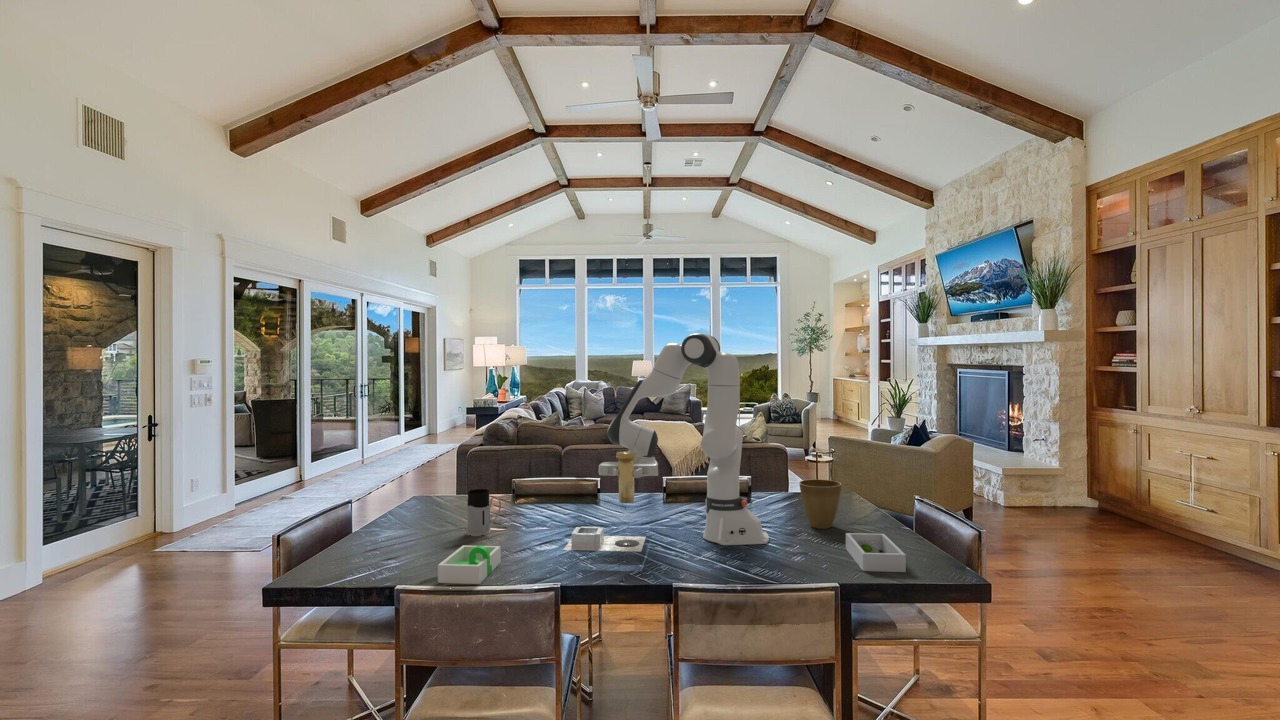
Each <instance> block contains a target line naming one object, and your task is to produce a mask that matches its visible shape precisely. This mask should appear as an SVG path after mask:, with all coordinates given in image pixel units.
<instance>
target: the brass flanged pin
mask: <svg viewBox="0 0 1280 720" xmlns="http://www.w3.org/2000/svg"><path fill="white" fill-rule="evenodd" d="M615 456H616V459H618V462H619V476H618V502H619V503H620V504H632V503H635V479H634V473H633V471H634V458H636V452H629V451H628V450H626V451H617V452H616V455H615Z"/></svg>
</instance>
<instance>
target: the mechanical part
mask: <svg viewBox="0 0 1280 720" xmlns="http://www.w3.org/2000/svg"><path fill="white" fill-rule="evenodd" d="M475 546H476V547H475V548H474V549H473V550H472V551H471V552H470V554H469V562H457V563H456V564H464V565H478V564H479V563H480V562H481V561H480V560H478V559H477V558H476V554H477V553H480V554H482V556H483V559H487V575H488V576H489V575H490V574H491V573H492V572H493V571H492V564H491V565H490V553H489V550H488V549H487V548H486V547H484V546H485V545H475ZM491 571H492V572H491Z"/></svg>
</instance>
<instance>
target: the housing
mask: <svg viewBox="0 0 1280 720" xmlns="http://www.w3.org/2000/svg"><path fill="white" fill-rule="evenodd" d="M646 538H647V536H628V535H627V536H626V535H624V536H623V535H622V536H621V535H605V527H601V526H582V525H581V526H575V528H574V529H573V530H572V532H571V537H570V540H569V541H568V542H567V544H566V546H565V547H564V548H563V551H591V552H592V551H593V552H594V551H597V552H639V553H640V552H642V550H643V547H644V544H645V541H646Z"/></svg>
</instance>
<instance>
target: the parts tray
mask: <svg viewBox="0 0 1280 720" xmlns="http://www.w3.org/2000/svg"><path fill="white" fill-rule="evenodd" d="M476 546H477V545H464V544H463V545H461V546H460V547H459V548H458V549H456V550H455V551H454V552H452V553H451V554H450V555H448V556H447V557H446V558H445V559H444V560H442V561H441V562H439V564H437V584H462V585H464V584H465V585H473V584H474V585H480V584H481V583H482V582H483V581H484V580H485V579H486V578H487V577H488V576H489V575H487V559H483V556H482V554H480V553H477V554H476V558H477V559H478V560H480V561H481V562H480V563H479V564H478V565H464V564H456V563H457V562H469V554H470V552H471V551H472V550H473V549H474V548H475V547H476ZM483 546H484V547H486V548H487V549H488V550H489V553H490V565H491V564H492V571H491V573H493V571H495V569H496V568H498V566H499V565H500V564H501V562H502V561H501V558H502V556H501V554H502V552H501V550H502V549H501V545H483Z"/></svg>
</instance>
